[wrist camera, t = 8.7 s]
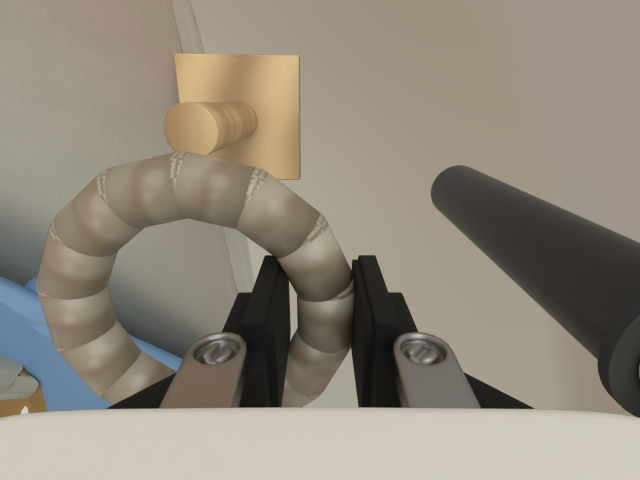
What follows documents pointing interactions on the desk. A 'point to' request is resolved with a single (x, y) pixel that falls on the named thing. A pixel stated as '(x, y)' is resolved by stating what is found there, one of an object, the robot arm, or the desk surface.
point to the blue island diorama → (43, 359)
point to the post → (239, 110)
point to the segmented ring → (202, 205)
